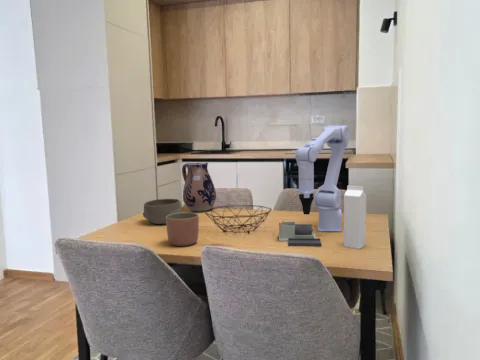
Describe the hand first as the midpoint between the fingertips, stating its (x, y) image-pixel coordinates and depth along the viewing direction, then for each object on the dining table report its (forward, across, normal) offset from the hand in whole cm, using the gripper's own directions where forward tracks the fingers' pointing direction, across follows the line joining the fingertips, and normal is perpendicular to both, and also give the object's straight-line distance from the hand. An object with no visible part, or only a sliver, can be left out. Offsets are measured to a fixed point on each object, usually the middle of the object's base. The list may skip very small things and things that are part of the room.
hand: (306, 213), depth 165 cm
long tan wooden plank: (+4, +1, -10) cm, 11 cm away
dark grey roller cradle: (+10, +8, -1) cm, 13 cm away
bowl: (+10, -26, -66) cm, 72 cm away
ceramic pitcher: (+10, -55, -56) cm, 79 cm away
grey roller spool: (+6, 0, -2) cm, 7 cm away
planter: (+10, +9, -47) cm, 49 cm away
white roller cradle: (+10, 0, -4) cm, 11 cm away
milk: (+10, +10, +17) cm, 22 cm away
